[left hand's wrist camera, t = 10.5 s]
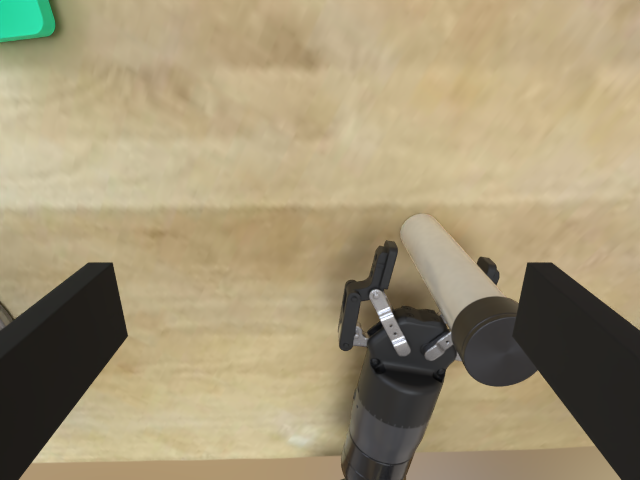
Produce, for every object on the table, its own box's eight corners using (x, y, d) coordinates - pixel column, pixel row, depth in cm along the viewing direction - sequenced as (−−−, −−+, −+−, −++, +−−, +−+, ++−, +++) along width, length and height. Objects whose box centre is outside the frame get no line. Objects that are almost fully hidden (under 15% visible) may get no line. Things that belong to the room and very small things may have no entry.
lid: (437, 320, 24) (449, 343, 22) (508, 281, 23) (529, 301, 21) (471, 372, 25) (485, 399, 23) (539, 337, 24) (561, 362, 22)
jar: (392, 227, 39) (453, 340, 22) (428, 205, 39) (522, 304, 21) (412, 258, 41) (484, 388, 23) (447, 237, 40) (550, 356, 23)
